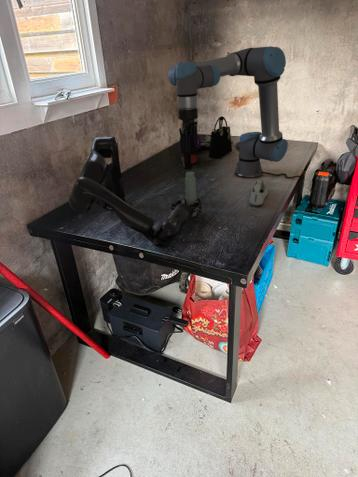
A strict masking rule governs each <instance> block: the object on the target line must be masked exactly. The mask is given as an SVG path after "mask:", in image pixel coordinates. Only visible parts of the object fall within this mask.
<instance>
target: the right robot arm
mask: <svg viewBox="0 0 358 477" xmlns="http://www.w3.org/2000/svg"><path fill="white" fill-rule="evenodd" d="M286 60H287V59H286V54H285V52H284V50H282V49H281V47H278V46H272V45H271V46H270V45H269V46H259V47H248V48H244V49H241V50H240V49H239V50H237V51H234V52H229V53H228V54H226V56H222V57H218V58H213V59H208V60H203V61H198V62H195V61H182V62H178V63H176V65H174V66H171V67H170V69H169V71H168V82H169V83H170V84H171V85H172V86H173V87H176V96H177V98H176V102H177V108H178V110H177V114H178V115H177V116H178V117H177V118H178V119H179V120H180V121H182V123H181V127H180V128H178V133H179V141H180V143H181V147H180V155H181V154H184V165H183V167H184V170H187V171H191V170H192V166H197V161H196V162H195V163H191V154H193V155H196V156H197V151H196V150H195V149H198V147H196V146H198V137H197V134H198V121H196V120H197V119H198V117H199V110H198V109H199V108H198V105H199V103H198V102H199V101H198V90H200V89H206V88H212V87H215V86H217V85H218V84H219V82H220V81H221V78H223V77H226V76H229V77H235V76H244V77H253V80H254V84H255V85H256V86H257V88H258V102H259V115H260V116H259V117H260V129H261V130H260V131H250V132H244V133H242V134H240V136H239V141H238V142H239V150H238V162H237V163H236V167H235V170H234V174H235V176H236V177H239V178H243V179H255V178H259V177H261V176H262V175H269V176H274V177H280V176H284V177H285V179H294V178H300V179H304V177H303V176H302V175H300V174H299V175H298V174H297V175H293V176H288V175H287V173H283V172H282V173H277V174H276V173H272V172H266V171H263V169H262V165H261V160H265V161H269V162H275V163H277V162H280V161H281V160H282V159H284V157H285V156H286V154H287V151H288V146H289V143H288V141H287V139H285V138H284V137H283V132H282V131H280V117H279V96H278V95H279V94H278V92H279V90H278V82H279V81H280V79H281V76H282V75H283V74H284V72H285V68H286V64H287V61H286ZM198 150H199V149H198Z"/></svg>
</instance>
